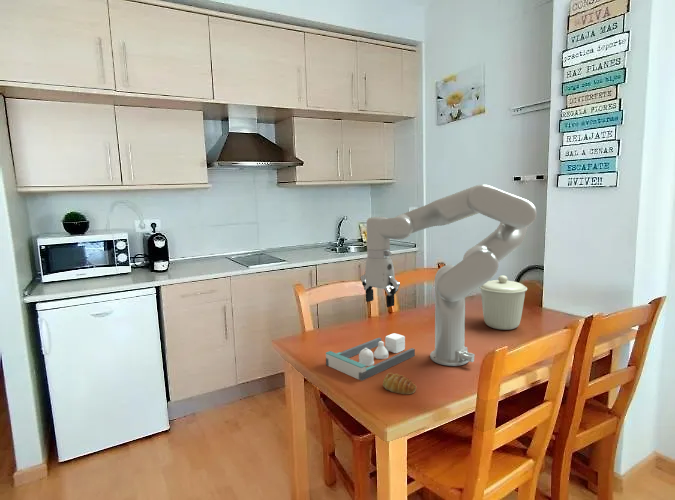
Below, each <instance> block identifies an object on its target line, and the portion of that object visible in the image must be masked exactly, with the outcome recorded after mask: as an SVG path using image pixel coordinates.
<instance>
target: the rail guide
mask: <svg viewBox="0 0 675 500" xmlns="http://www.w3.org/2000/svg"><path fill="white" fill-rule="evenodd" d="M379 341H382V337H377V338H374V339H372V340H371V339H370V340H369V341H366V342H364V343H361V344H358V345H356V346H353V347H351V348H348V349H345V350H343V351H341V352H340V351H339V352H334V351H332V350H329V351H327V352H325V365H326V366H328V367H329V368H332V369H334V370H337V371H338V372H340V373H343V374H346V375H348V376H350V377H352V378H355V379H357V380H359V381H364V380H367V379H369V378H371V377H373V376H375V375H377V374H379V373H382V372H383V371H386V370H388V369H390V368H392V367H394V366H396V365H399V364H401V363H403V362H405V361H407V360H409V359H411V358H413V357H415V356H416V352H415V351H416V349H415V348H414V347H413V348H409V349H407V350H405V351H404V350H403V351H401V352H399V353H396V354H395V355H393V356H390V357H388V358H386V359H383V360H382V361H380V362H377V363H374V364H373V365H371V366H366V365H364V364H361V363H359V361H356V360H354V359H352V357H354V356H357V355H359V353H360V351H361V350H363V349H364V348H368V349H370V350H372V349H374V348H377V347H378V344H379V343H378V342H379Z"/></svg>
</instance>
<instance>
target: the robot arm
mask: <svg viewBox="0 0 675 500" xmlns="http://www.w3.org/2000/svg"><path fill="white" fill-rule="evenodd" d="M537 213H538V212H537V208H536V206H535V205H534V204H533V203H532V202H531V201H529V200H528V199H526V198H522V197H521V196H517V195H515V194H512V193H509V192H506V191H504V190H502V189H499V188H497V187H494V186H491V185H489V184H477V185H473V186H471V187H469V188H468V187H467V188H466V189H463V190H460V191H458V192H454V193H452V194H450V195H447V196H445V197H442V198H439V199H436V200H434V201H431V202H429V203H427V204H425V205H423V206H421V207H420V206H419V207H417V208H415V209H411V210H409V211H407V212H404V213H401V214H398V215H396V216H395V217H386V216H373V217H369V218H367V220H366V251H367V252H366V254H367V257H366V259H365V272H364V274H363V275H360V281H361V285H362V286H363V290H364V291H365V302H366V303H369V302H373V301H374V289H373V288H377V289H382V290H385V292H386V294H387V295H386V297H385V298H386V300H385V301H386V303H385V304H386V308H391V307H394V306H395V295H396V294H397V292H398V291H399V288H400V286H401V283H400V282H399V281H398V280H397V279H396V277H395V276H396V274H395V268H394V267H395V266H394V262H393V259H392V258H391V256H392V252H391V250H390V249H391V248H390V247H391V246H390V245H391V243H390V242H391V241H390V239H391V240H399V241H400V240H401V241H402V240H405V239H407V238H409V237H410V236H411V235H412V234H414V233H417V232H419V231H422V230H426V229H429V228H433V227H437V226H438V227H440V226H447V225H450V224H453V223H456V222H458V221H462V220H464V219H467V218H469V217H472V216H476V215H477V214H480V215H483V216H485V217H487V218H490V219H493V220H495V221H498V222H499V225H498V226H497V228H496V229H495V230H494V231H493V232H492V233H490V234H489V235H488V236H486V237H485V238H484V239H482V240H481V241H479V242H478V243H476V244H475V245H473V246H472V247H470V248H469V249H467V250H466V252H465V253H464V255H463V257H462V260H461V261H460V262H458V263H457V264H455V265H453V264H447V265H443V266H442V267H440V268H439V269H438V270H437V272H436V273H435V276H434V301H435V303H434V305H435V306H434V350H432V351H430V354H429V355H430V359H431V361H432V362H434V363H436V364H439V365H442V366H449V367H458V366H459V367H460V366H464V365H467V364H468V363H469V362H470V363H474V362H475V356H476V355H475V353H473V352H469V351H468V346H465V344H466V343H465V337H466V336H465V335H466V333H465V332H466V331H465V330H466V327H465V326H466V325H465V324H466V319H465V318H466V297H467V296H469V295H471V294H473V293H474V292H475V291H476V290H478V289H480V288H479V287H481V286H482V285H484V284H485V283H486V282H488V281H491V280H492V279H493V278H494V277H495V276H496V274H497V272H498V270H499V263H500V262H501V261H504V259H506V258H507V257H508V256H509V255H510V254H512V253H513V252H515V251H516V250H517V249H518V248H519V246H521V245H522V243H523V242H524V239H525V237H526V235H527V231H528V227H529V226H531V225H533V223H534V222H535V221H536V218H537Z"/></svg>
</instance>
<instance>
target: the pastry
mask: <svg viewBox="0 0 675 500" xmlns="http://www.w3.org/2000/svg"><path fill="white" fill-rule="evenodd" d="M382 386H383V387H384V389H385V390H387V391H390V392H392V393H397V394H401V395H412V394H414V393H415V392H416V391H417V385H416V384H415V383H414V382H413V381H412V380H411V379H409V378H408V377H405V376H404V375H403V374H399V373H393V372H388V373H387V374H386V375H385V377H384V378H383V382H382Z"/></svg>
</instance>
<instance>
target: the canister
mask: <svg viewBox="0 0 675 500" xmlns="http://www.w3.org/2000/svg"><path fill="white" fill-rule="evenodd" d="M478 289H480V295H481V307H482V315H483V320H484V323H485V324H486V325H487V326H488V327H490V328H493V329H496V330H507V331H508V330H514V329H516V328H518V327H519V326H520V324H521V319H522V315H523V310H524V309H523V308H524V302H525V297H526V292H527V290H528V287H527V286H525V285H524V284H523V283H520V282H518V281H513V280H509V278H508V276H506V275H499V276H498V277H497V279H494V280H492V279H490V280H489V281H488V282H486V283H485V284H484V285H482V286H481V287H479V288H478Z"/></svg>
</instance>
